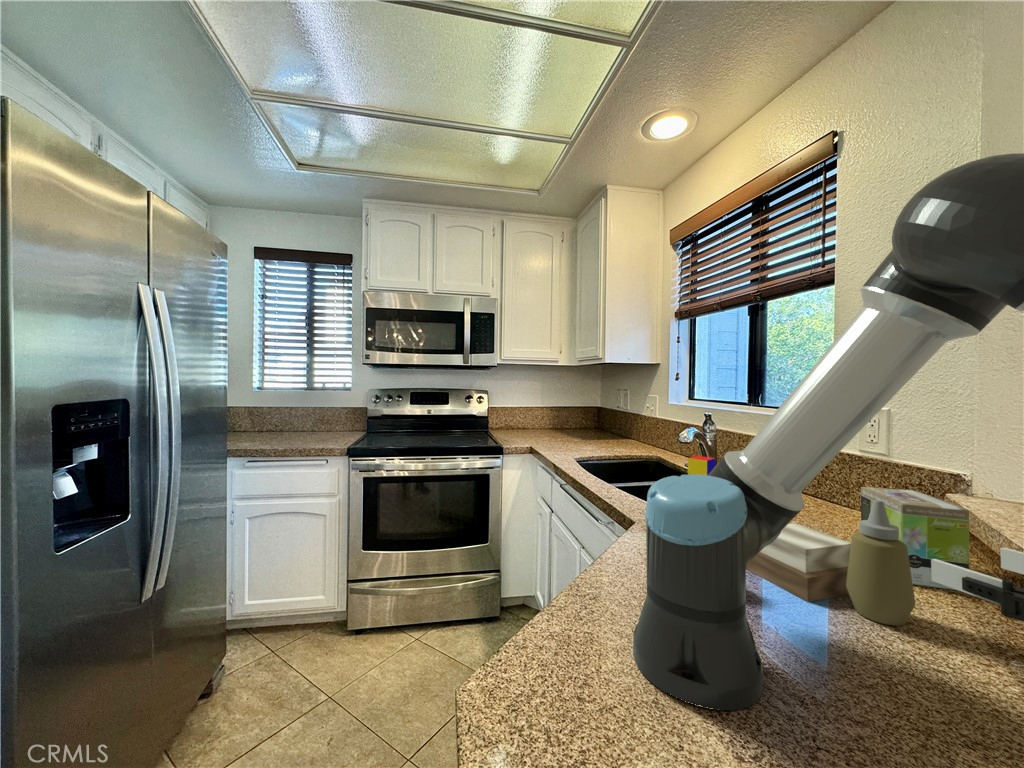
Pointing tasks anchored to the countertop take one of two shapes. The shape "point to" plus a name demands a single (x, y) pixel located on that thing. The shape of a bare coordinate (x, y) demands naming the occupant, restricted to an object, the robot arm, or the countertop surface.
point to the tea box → (924, 529)
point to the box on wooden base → (805, 563)
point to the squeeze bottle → (880, 571)
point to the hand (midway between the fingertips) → (968, 563)
